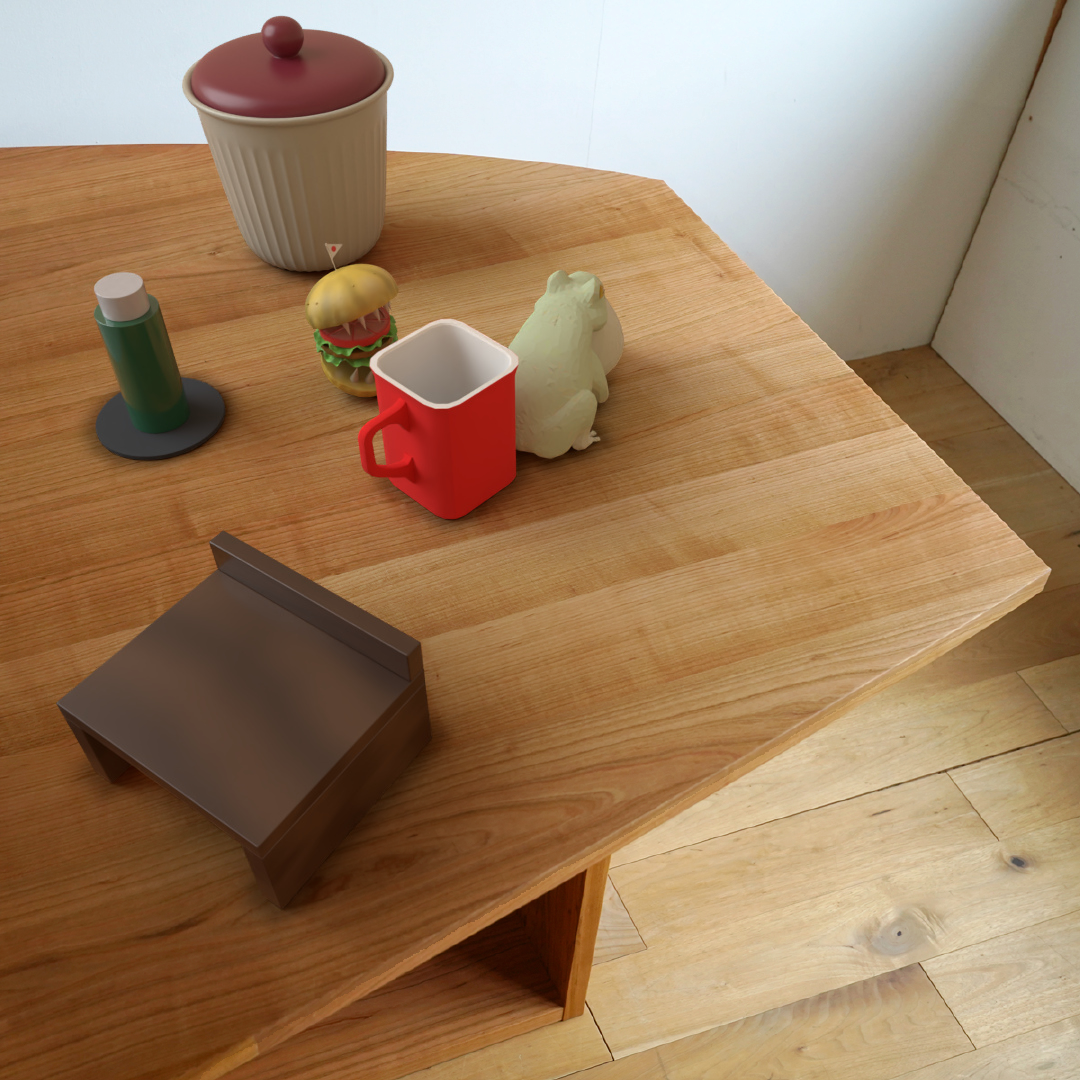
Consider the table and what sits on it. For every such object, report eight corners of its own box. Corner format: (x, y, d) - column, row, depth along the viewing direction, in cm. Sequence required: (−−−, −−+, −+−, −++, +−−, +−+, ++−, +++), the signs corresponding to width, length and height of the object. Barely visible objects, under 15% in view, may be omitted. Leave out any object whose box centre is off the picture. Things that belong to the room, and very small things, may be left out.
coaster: (156, 477, 78) (155, 473, 78) (69, 429, 82) (68, 425, 82) (251, 408, 84) (250, 404, 84) (166, 366, 88) (165, 362, 88)
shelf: (282, 910, 55) (247, 823, 48) (94, 771, 61) (40, 676, 54) (432, 738, 63) (421, 641, 56) (253, 629, 68) (223, 529, 62)
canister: (413, 198, 108) (394, -20, 93) (403, 294, 96) (380, 61, 81) (239, 199, 108) (191, -20, 93) (206, 296, 95) (146, 62, 80)
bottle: (158, 441, 81) (114, 310, 72) (119, 419, 82) (71, 289, 74) (202, 410, 83) (165, 280, 75) (163, 390, 85) (122, 260, 76)
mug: (454, 425, 83) (446, 313, 75) (529, 474, 79) (529, 360, 71) (336, 501, 77) (315, 386, 69) (411, 557, 73) (397, 443, 65)
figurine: (649, 361, 89) (660, 257, 82) (577, 480, 79) (583, 373, 71) (541, 332, 92) (542, 230, 85) (458, 444, 81) (451, 337, 74)
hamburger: (360, 420, 83) (340, 291, 75) (299, 385, 86) (273, 257, 78) (426, 375, 87) (414, 248, 79) (366, 343, 91) (348, 217, 82)
